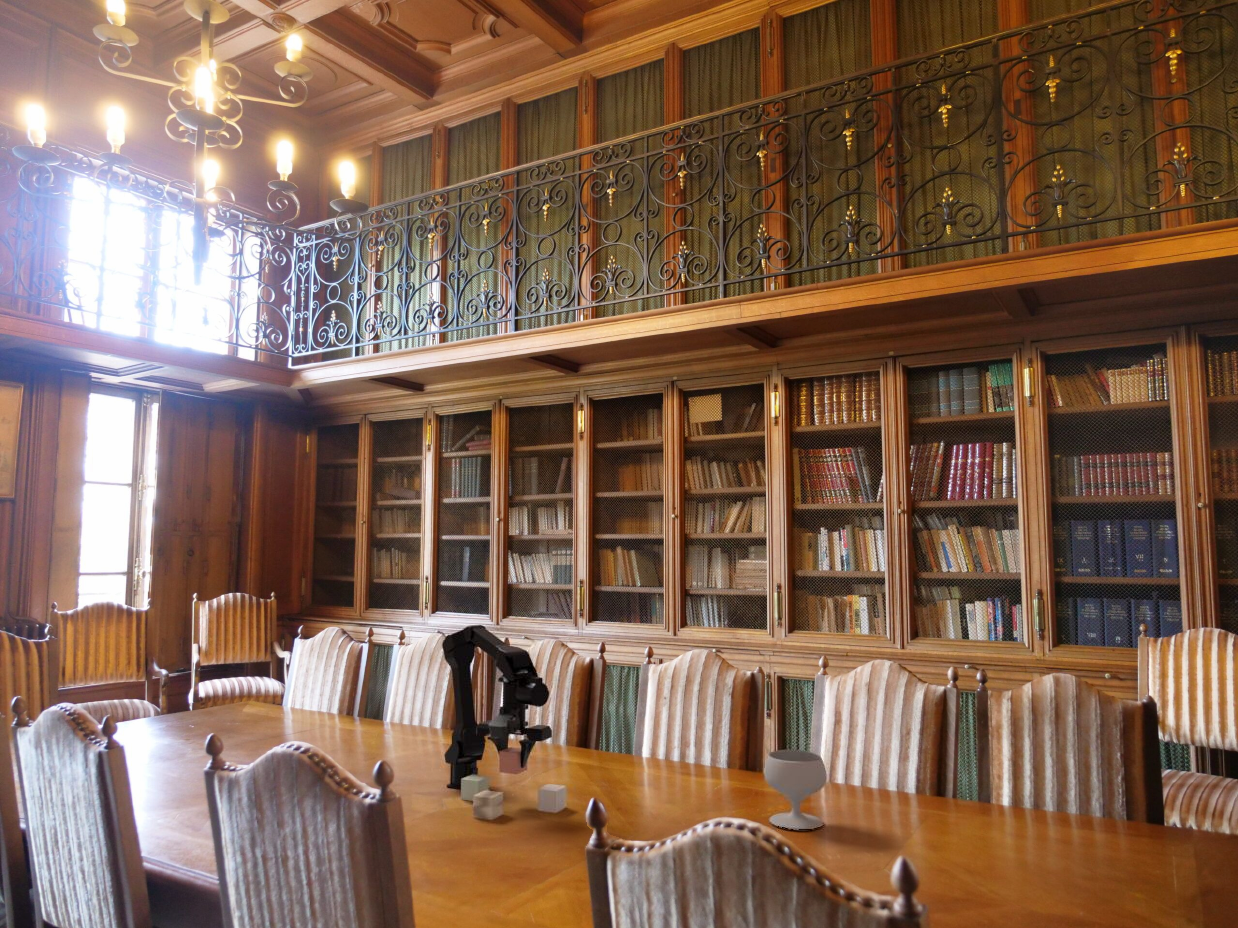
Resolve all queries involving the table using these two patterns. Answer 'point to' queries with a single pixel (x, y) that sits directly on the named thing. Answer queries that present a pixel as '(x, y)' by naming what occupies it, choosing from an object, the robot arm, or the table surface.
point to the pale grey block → (552, 798)
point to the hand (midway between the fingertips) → (513, 766)
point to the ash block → (488, 805)
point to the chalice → (795, 784)
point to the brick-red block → (511, 761)
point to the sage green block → (473, 786)
